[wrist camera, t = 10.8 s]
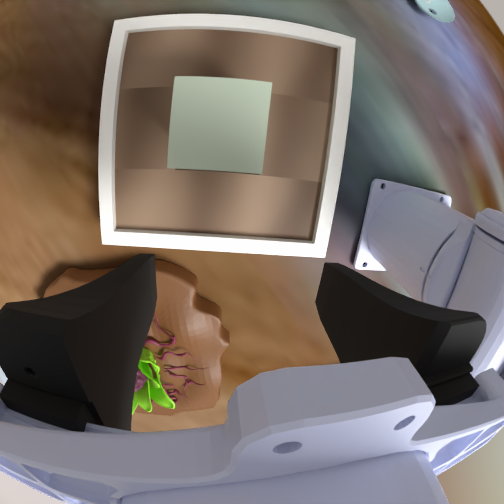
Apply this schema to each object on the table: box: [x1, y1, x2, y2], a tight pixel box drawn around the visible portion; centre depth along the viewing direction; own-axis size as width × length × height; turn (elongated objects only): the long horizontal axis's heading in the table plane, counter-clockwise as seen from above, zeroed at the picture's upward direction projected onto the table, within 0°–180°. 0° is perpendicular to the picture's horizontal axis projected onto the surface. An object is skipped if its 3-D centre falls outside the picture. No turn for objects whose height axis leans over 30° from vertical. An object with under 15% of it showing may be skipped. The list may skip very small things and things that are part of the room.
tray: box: [98, 14, 355, 258], centre depth 17 cm, size 16×16×3 cm
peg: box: [167, 76, 272, 174], centre depth 14 cm, size 4×4×8 cm
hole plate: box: [115, 29, 338, 241], centre depth 17 cm, size 14×14×2 cm
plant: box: [43, 260, 230, 416], centre depth 21 cm, size 20×20×11 cm
